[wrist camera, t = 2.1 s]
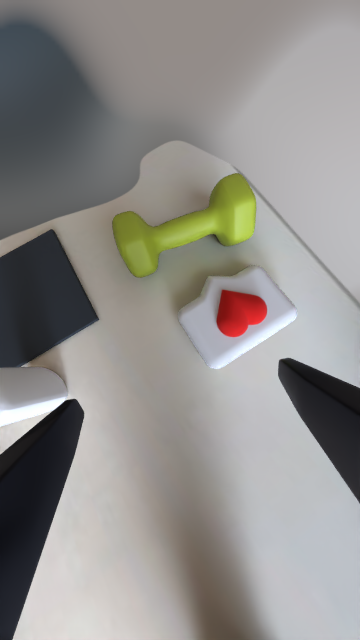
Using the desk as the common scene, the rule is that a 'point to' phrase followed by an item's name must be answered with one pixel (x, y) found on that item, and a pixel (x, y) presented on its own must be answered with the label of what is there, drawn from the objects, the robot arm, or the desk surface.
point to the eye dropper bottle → (29, 393)
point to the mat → (39, 300)
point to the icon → (235, 315)
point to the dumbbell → (188, 226)
